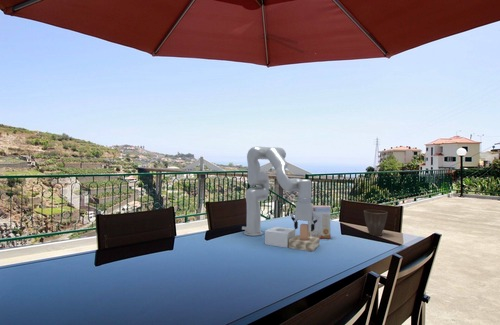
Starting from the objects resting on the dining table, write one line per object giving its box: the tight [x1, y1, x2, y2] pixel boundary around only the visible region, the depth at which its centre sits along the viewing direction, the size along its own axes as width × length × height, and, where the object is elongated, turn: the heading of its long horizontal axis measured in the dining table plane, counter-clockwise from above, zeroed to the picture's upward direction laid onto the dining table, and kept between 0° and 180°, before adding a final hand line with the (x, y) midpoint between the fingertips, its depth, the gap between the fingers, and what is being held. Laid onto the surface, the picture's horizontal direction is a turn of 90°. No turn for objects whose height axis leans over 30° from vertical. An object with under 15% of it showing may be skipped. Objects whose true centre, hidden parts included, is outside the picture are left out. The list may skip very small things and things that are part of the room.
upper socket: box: [264, 226, 296, 249], centre depth 176 cm, size 14×14×8 cm
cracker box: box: [307, 204, 331, 240], centre depth 190 cm, size 14×6×21 cm, turn 84°
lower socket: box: [288, 234, 321, 252], centre depth 169 cm, size 14×14×4 cm
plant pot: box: [363, 209, 388, 237], centre depth 199 cm, size 15×15×16 cm
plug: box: [299, 223, 309, 241], centre depth 169 cm, size 4×4×12 cm
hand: (304, 229), depth 169 cm, fingers open, 9 cm apart
